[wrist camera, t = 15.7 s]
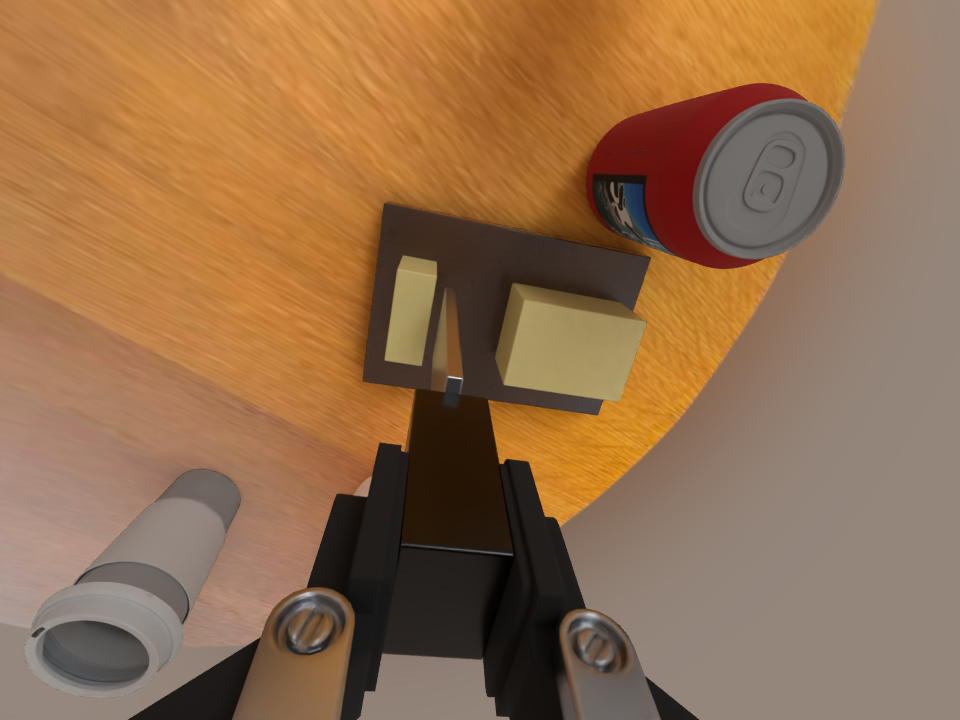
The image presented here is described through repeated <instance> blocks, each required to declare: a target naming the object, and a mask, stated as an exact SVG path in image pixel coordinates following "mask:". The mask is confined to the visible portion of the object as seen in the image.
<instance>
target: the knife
mask: <svg viewBox="0 0 960 720" xmlns="http://www.w3.org/2000/svg"><path fill="white" fill-rule="evenodd" d="M462 384H463V370H462V359H461V348H460V337H459V326H458V315H457V303H456V292H455V289H454V288H449V287H446V288H445V292H444V297H443V303H442V308H441V314H440V320H439V325H438V331H437V336H436V342H435V347H434V353H433V358H432V375H431V390H427V389H420V388H417V389H416V390H415V393H414V399H413V405H412V411H411V417H410V423H409V429H408V435H407V441H406V447H405V452H409V460H408V470H407V479H406V488H405V497H404V506H403V515H402V524H401V533H400V542H399V551H398V560H397V569H396V576H395V583H394V590H393V595H392V601H391V606H390V612H389V617H388V623H387V628H386V634H385V639H384V645H383V650H382V654H393V655H409V656H425V657H426V656H427V657H443V658H458V659H475V660H481V659H483V656H484V653H485V650H486V646H487V643H488V640H489V637H490V634H491V631H492V627H493V624H494V621H495V618H496V615H497V612H498V608H499V605H500V602H501V599H502V596H503V592H504V589H505V586H506V583H507V580H508V577H509V573H510V570H511V567H512V564H513V561H514V557H515V552H514V546H513V540H512V535H511V529H510V524H509V518H508V512H507V507H506V501H505V496H504V490H503V484H502V479H501V473H500V467H499V458H498V453H497V447H496V442H495V436H494V431H493V425H492V420H491V414H490V409H489V403H488V399H486V398H481V397H474V396H467V395H461V394H460V393H461V388H462Z"/></svg>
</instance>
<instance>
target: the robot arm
mask: <svg viewBox="0 0 960 720" xmlns="http://www.w3.org/2000/svg"><path fill="white" fill-rule="evenodd" d="M401 446H402V445H394V444H387V443H379V447H378V452H377V456H376V461H375V465H374V470H373V474H372V479H371V483H370V488H369V492H368V497H364V496H355V495H346V494H337V495H336V497H335V500H334V503H333V506H332V509H331V513H330V516H329V519H328V522H327V525H326V528H325V531H324V535H323V538H322V541H321V544H320V547H319V550H318V553H317V556H316V560H315V563H314V566H313V569H312V572H311V575H310V578H309V582H308V585H307V588H305V589H302V590H299V591H296V592H294V593H292V594H290V595H289V596H287V597H285V598H284V599H282V600H281V601H280V602H279V603H278V604H277V605H276V606H275V607H274V608H273V610H272V612H271V613H270V615H269V617H268V619H267V621H266V624H265V627H264V630H263V632H262V635H261V637H260V638H259V639H257V640H255V641H254V642H252V643H250V644H249V645H247V646H246V647H244V648H243V649H241V650H239V651H238V652H236V653H234V654H233V655H231V656H230V657H228V658H226V659H225V660H223V661H222V662H220V663H218V664H217V665H215V666H213V667H212V668H210V669H209V670H207V671H205V672H204V673H202V674H201V675H199V676H197V677H196V678H194V679H193V680H191V681H189V682H188V683H186V684H184V685H183V686H181V687H180V688H178V689H177V690H175V691H173V692H172V693H170V694H169V695H167V696H165V697H164V698H162V699H160V700H159V701H157V702H155V703H154V704H152V705H151V706H149V707H147V708H146V709H144V710H143V711H141V712H139V713H138V714H136V715H135V716H133V717H131V718H130V719H128V720H357V719H358V718H359V717H360V716H361V710H362V703H363V698H364V692H365V691H375V689H376V683H377V678H378V672H379V666H380V661H381V655H382V650H383V645H384V639H385V634H386V628H387V623H388V617H389V612H390V606H391V601H392V595H393V590H394V583H395V576H396V569H397V560H398V551H399V542H400V533H401V524H402V515H403V506H404V497H405V488H406V479H407V470H408V460H409V452H402V451H401ZM499 467H500V473H501V479H502V484H503V490H504V496H505V501H506V507H507V512H508V518H509V524H510V529H511V535H512V540H513V546H514V552H515V557H514V561H513V564H512V567H511V570H510V573H509V577H508V580H507V583H506V586H505V589H504V592H503V596H502V599H501V602H500V605H499V608H498V612H497V615H496V618H495V621H494V624H493V627H492V631H491V634H490V637H489V640H488V643H487V646H486V650H485V653H484V656H483V663H484V675H485V688H486V693H487V696H488V697H495V705H496V715H497V716H502V717H509V718H510V720H699V719H698V718H696V717H695V716H694V715H693V714H691V713H690V712H689V711H688V710H687V709H685V708H684V707H683V706H682V705H680V704H679V703H678V702H677V701H675V700H674V699H673V698H672V697H670V696H669V695H668V694H667V693H665V692H664V691H663V690H662V689H661V688H659V687H658V686H657V685H655V684H654V683H653V682H652V681H651V680H649V679H648V678H647V677H646V676H645V675H644V673H643V670H642V668H641V665H640V662H639V660H638V657H637V654H636V651H635V649H634V646H633V644H632V643H631V640H630V639H629V636H628V635H627V634H626V632H625V631H624V630H623V629H622V628H621V626H620V625H619V624H617V623H616V622H615V621H614V620H612V619H611V618H610V617H608V616H606V615H604V614H602V613H600V612H598V611H595V610H590V609H586V607H585V604H584V601H583V598H582V595H581V592H580V589H579V586H578V583H577V579H576V576H575V573H574V570H573V567H572V564H571V561H570V558H569V555H568V552H567V549H566V545H565V542H564V539H563V536H562V533H561V530H560V527H559V524H558V522H557V520H556V519H555V518H553V517H545V516H544V512H543V509H542V506H541V502H540V499H539V495H538V492H537V488H536V485H535V482H534V478H533V475H532V471H531V468H530V465H529V462H527V461H519V460H511V459H506V460H505V462H504V464H499Z"/></svg>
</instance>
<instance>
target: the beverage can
mask: <svg viewBox="0 0 960 720" xmlns="http://www.w3.org/2000/svg"><path fill="white" fill-rule="evenodd" d="M844 168H845V150H844V144H843V140H842V136H841V134H840V131H839V129H838V127H837V125H836V123H835V122H834V120H833V119H832V118H831V116H830V115H829V114H828V113H826V112H825V111H824V110H823V109H822V108H820V107H819V106H817V105H815V104H813V103H811V102H808V101H807V100H806V99H805V98H804V97H802V96H801V95H800V94H798V93H796V92H795V91H792V90H790V89H788V88H786V87H783V86H780V85H775V84H767V83H755V84H748V85H744V86H739V87H735V88H731V89H727V90H723V91H720V92H716V93H712V94H708V95H704V96H700V97H697V98H693V99H689V100H685V101H682V102H678V103H675V104H671V105H668V106H664V107H661V108H657V109H654V110H651V111H647V112H644V113H641V114H638V115H635V116H632V117H629V118H627V119H625V120H623V121H621V122H620V123H618V124H617V125H615V126H614V127H613V128H612V129H611V130H610V131H608V132H607V134H606V135H605V136H604V137H603V138H602V139H601V141H600V142H599V144H598V145H597V147H596V149H595V150H594V153H593V155H592V157H591V160H590V163H589V166H588V171H587V177H586V190H587V197H588V201H589V204H590V207H591V209H592V211H593V213H594V215H595V216H596V218H597V219H598V220H599V222H600V223H601V224H602V225H603V226H604V227H606V228H607V229H608V230H610V231H612V232H614V233H616V234H618V235H620V236H623V237H625V238H628V239H630V240H633V241H635V242H638V243H641V244H643V245H646V246H649V247H652V248H654V249H657V250H660V251H662V252H665V253H668V254H671V255H674V256H677V257H679V258H682V259H685V260H688V261H691V262H694V263H697V264H700V265H703V266H706V267H710V268H717V269H731V268H738V267H742V266H747V265H750V264H753V263H756V262H758V261H761V260H763V259H765V258H768V257H773V256H776V255H778V254H781V253H784V252H786V251H788V250H789V249H791V248H793V247H795V246H796V245H798V244H799V243H801V242H802V241H803V240H804V239H806V238H807V237H808V236H809V235H810V234H811V233H812V232H813V231H814V230H815V229H816V228H817V227H818V226H819V225H820V224H821V222H822V221H823V219H824V218H825V217H826V216H827V214H828V212H829V211H830V209H831V207H832V206H833V204H834V202H835V200H836V198H837V195H838V193H839V190H840V187H841V183H842V179H843V175H844Z"/></svg>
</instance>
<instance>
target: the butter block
mask: <svg viewBox="0 0 960 720" xmlns="http://www.w3.org/2000/svg"><path fill="white" fill-rule="evenodd" d="M646 324H647V322H646V321H645V320H644V319H642V318H641V317H639V316H638V315H637V314H635V313H634V312H633V311H631V310H630V309H628V308H627V307H626V306H624V305H623V304H622V303H620V302H615V301H610V300H604V299H599V298H593V297H588V296H583V295H577V294H572V293H567V292H561V291H556V290H550V289H545V288H540V287H534V286H529V285H524V284H518V283H512V287H511V291H510V296H509V300H508V304H507V309H506V313H505V317H504V321H503V326H502V330H501V334H500V339H499V343H498V347H497V352H496V356H495V359H496V362H497V366H498V369H499V372H500V375H501V379H502V382H503V384H504V385H508V386H515V387H521V388H528V389H535V390H541V391H548V392H555V393H561V394H568V395H575V396H581V397H588V398H595V399H601V400H608V401H615V402H619V401H620V398H621V395H622V392H623V389H624V387H625V384H626V381H627V378H628V375H629V372H630V370H631V367H632V364H633V361H634V358H635V355H636V352H637V350H638V347H639V344H640V341H641V338H642V335H643V332H644V330H645V327H646Z"/></svg>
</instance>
